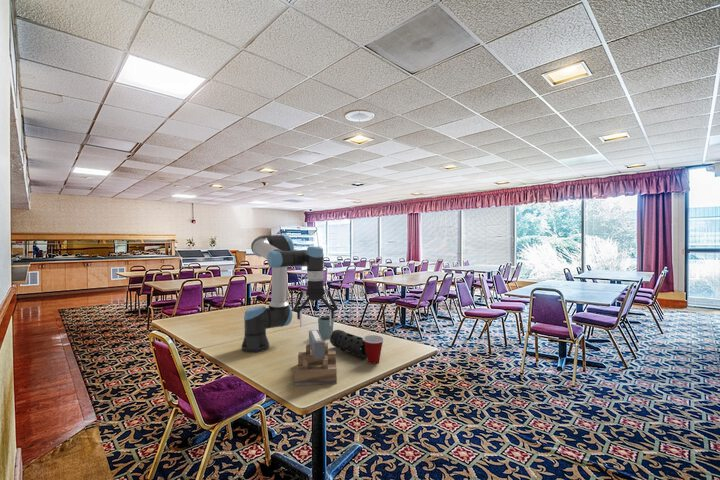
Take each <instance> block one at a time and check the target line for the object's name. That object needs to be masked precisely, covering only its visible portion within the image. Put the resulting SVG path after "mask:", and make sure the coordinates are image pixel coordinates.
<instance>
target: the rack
mask: <svg viewBox="0 0 720 480" xmlns="http://www.w3.org/2000/svg"><path fill="white" fill-rule="evenodd" d="M336 355H337V354H336V350H329V342H325V359H316V360H314V357H313V354H312V351H311V349H310V346H309V343H306V345H305V351H299V352H298V354H297V365H296V366H294V368H293V386H309V385H310V386H311V385H327V384H330V385H331V384H337V383H338V381H337V380H338V379H337V376H338V373H337V361H336V358H337V357H336Z"/></svg>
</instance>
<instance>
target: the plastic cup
mask: <svg viewBox="0 0 720 480" xmlns="http://www.w3.org/2000/svg"><path fill="white" fill-rule="evenodd" d="M362 338H363V341H364V345H365V350H366V355H367V358H366V360H367V363H369V364H379V363H380V360H381V355H382V354H381V353H382V347H383V342H384V340H385V337H383V336H381V335H376V334H368V335H365V336H363V337H362Z"/></svg>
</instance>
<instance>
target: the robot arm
mask: <svg viewBox="0 0 720 480" xmlns="http://www.w3.org/2000/svg"><path fill="white" fill-rule="evenodd" d="M323 248H324V247H322V246H308V247H307V248H306V249H301V250H295V246H294V241H293V239H292V237H291V236H290V235H288V234H287V235H286V234H273V235H272V234H271V235H268V234H267V235H265V234H264V235H260V236H258V237H256V238H255V239H253V241H251V245H250V249H251V250H250V251H251V253H253V254H254V255H255V256H257V257H259V258H260V257H262V258H264V259H265V260H267V264H268V266H269V268H271V299H270V300H271V301H270V302H269V303H268V307H266V306H265V305H256V306H252V307H248V308H247V309H245V311H244V316H243V317H244V318H243V320H244V323H243V324H244V325H243V326H244V328H243V329H244V337H243V341H242V344H241V345H240V346H241V351H242V352H243V353H260V352H264V351H267V350H269V349H270V342H269V339H268V336H267V329H274V328H282V327H285V326H288V325H289V324H291V322H292V319H293V312H296V315H297V316H296V317H297V320H299V328H302V327H303V311H302V310H303V309H304V307H306V305H307V304H308V302H310V301H321V302H323V303H324V304H325V306H326V307H327V308H328V309H329V317H330V326H331V318H334V319H335V311H338V306H337V304H336V301H335V300H334V298H333V295H332V294H331V290H330V289H327V290H324V288H325V287H324V282H325V281H324V256H325V255H324V249H323ZM289 267H293V268H294V267H306V279H307V282H306V284H307V285H306V288H307V290H300V294H299V296H298V299H297V300H296V301H297V302H296V303H295V305H294V307H293V308H292V306H291V305H290V303H289V301H287V291H288V289H287V288H288V282H287V281H288V268H289ZM325 294H326V296H327V297H328V299H329V300H330V303H331V304H332V305H331V304H330V303H329V302H328V301H327V300H326V298H325V297H324V295H325ZM305 295H306V296H307V298H306V299H305V300H304V302H302V304H301V305H300V303H301V300H302V299H303V297H305ZM299 305H300V306H299ZM332 306H333V307H332ZM298 307H299V308H298Z"/></svg>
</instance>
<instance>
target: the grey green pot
mask: <svg viewBox="0 0 720 480" xmlns="http://www.w3.org/2000/svg"><path fill="white" fill-rule="evenodd" d="M334 322H335V317H334V318H331V326H330V316H320V317H318V318H317V323H318V325H317V326H318V331H319V333H320V334H321V336H322V338H323V340H329V336H330V334H331V332H332V331H334V324H335V323H334Z"/></svg>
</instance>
